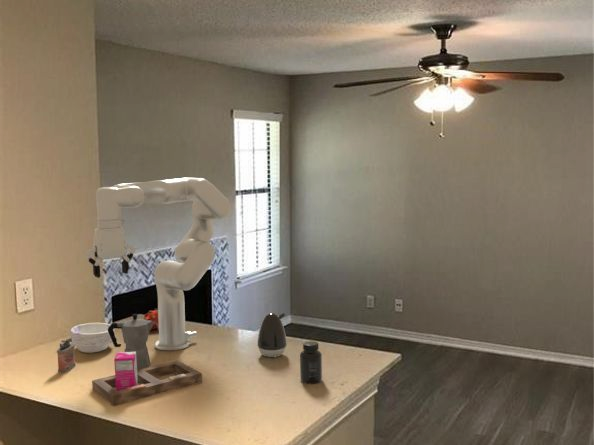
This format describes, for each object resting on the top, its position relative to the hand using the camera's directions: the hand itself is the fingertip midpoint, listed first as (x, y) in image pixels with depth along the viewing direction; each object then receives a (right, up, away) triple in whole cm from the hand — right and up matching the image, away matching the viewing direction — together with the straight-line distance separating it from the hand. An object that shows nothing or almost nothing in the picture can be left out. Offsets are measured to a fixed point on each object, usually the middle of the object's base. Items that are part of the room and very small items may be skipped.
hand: (111, 275), depth 219 cm
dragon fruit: (+5, -25, +44) cm, 51 cm away
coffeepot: (+7, -31, -1) cm, 32 cm away
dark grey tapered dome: (+53, -29, +11) cm, 62 cm away
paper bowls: (-12, -29, +18) cm, 36 cm away
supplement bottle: (+67, -32, -13) cm, 75 cm away
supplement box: (+11, -34, -22) cm, 41 cm away
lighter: (-14, -31, -2) cm, 34 cm away
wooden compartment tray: (+16, -33, -18) cm, 41 cm away
